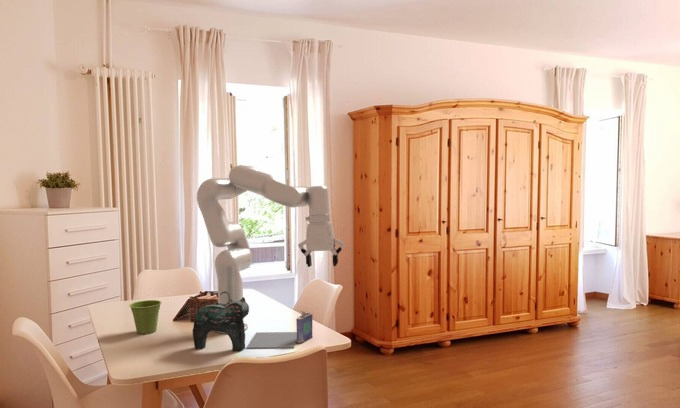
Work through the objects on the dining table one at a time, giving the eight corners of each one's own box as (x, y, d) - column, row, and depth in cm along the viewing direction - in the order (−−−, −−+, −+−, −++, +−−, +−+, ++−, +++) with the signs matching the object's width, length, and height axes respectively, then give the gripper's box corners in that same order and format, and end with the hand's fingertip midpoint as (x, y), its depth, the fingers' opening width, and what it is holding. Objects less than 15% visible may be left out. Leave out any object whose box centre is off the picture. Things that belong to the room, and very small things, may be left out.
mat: (246, 348, 173) (246, 347, 173) (256, 333, 191) (256, 332, 191) (293, 348, 173) (293, 347, 173) (299, 333, 191) (299, 331, 191)
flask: (301, 344, 177) (300, 314, 177) (294, 343, 178) (293, 313, 178) (314, 337, 185) (313, 308, 185) (307, 336, 187) (306, 307, 186)
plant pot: (124, 332, 196) (123, 304, 196) (153, 326, 205) (152, 298, 204) (138, 338, 188) (137, 308, 188) (168, 331, 197) (167, 302, 196)
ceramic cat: (251, 347, 174) (249, 290, 174) (243, 353, 168) (241, 294, 167) (199, 344, 179) (197, 289, 178) (189, 350, 173) (188, 292, 172)
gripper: (294, 221, 182) (296, 268, 182) (340, 219, 178) (343, 267, 179) (300, 220, 189) (302, 265, 190) (344, 218, 186) (347, 264, 186)
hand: (322, 266), depth 184 cm, fingers open, 9 cm apart
